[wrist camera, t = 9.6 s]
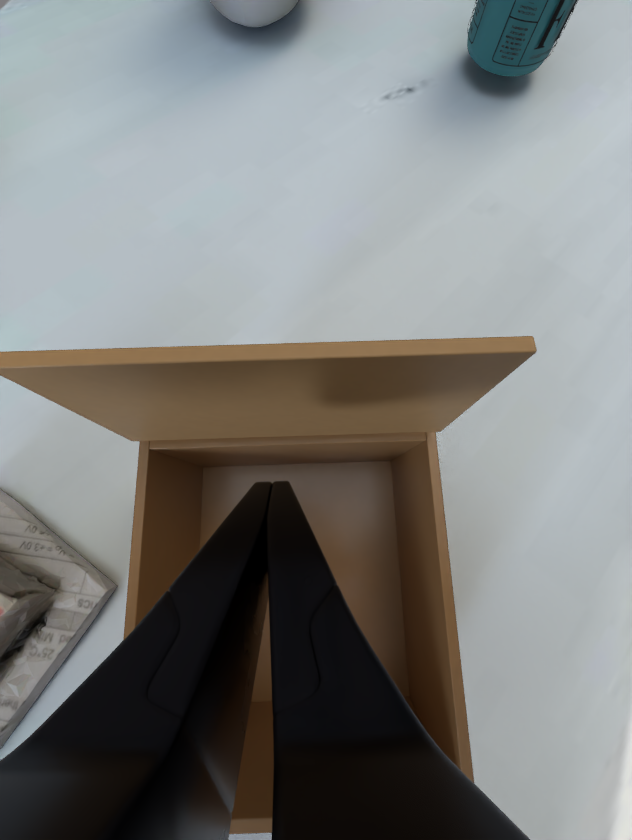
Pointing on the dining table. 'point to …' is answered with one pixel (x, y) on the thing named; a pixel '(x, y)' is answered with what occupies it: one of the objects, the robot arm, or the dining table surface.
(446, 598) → the carton
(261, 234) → the dining table surface
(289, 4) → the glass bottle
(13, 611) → the packaged product
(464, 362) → the flap
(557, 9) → the beverage bottle
